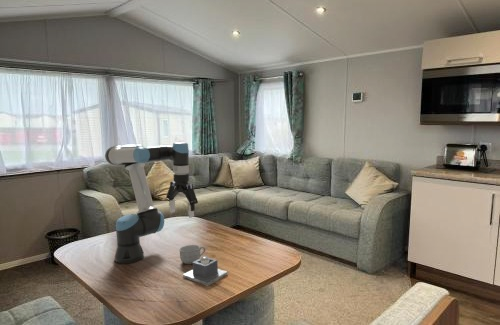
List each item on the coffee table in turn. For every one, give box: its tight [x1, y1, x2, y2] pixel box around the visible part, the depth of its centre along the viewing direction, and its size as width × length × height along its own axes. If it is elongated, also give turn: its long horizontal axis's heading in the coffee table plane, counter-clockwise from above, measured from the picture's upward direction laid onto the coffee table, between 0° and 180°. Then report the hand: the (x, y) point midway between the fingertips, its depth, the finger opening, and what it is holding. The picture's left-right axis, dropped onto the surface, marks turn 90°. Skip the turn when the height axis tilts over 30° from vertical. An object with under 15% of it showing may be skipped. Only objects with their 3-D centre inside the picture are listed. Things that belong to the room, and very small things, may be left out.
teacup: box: [179, 244, 207, 265], centre depth 179 cm, size 14×11×8 cm
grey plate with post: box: [182, 255, 228, 287], centre depth 162 cm, size 16×14×10 cm
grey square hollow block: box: [192, 257, 219, 279], centre depth 162 cm, size 8×8×6 cm
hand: (181, 214), depth 170 cm, fingers open, 13 cm apart
